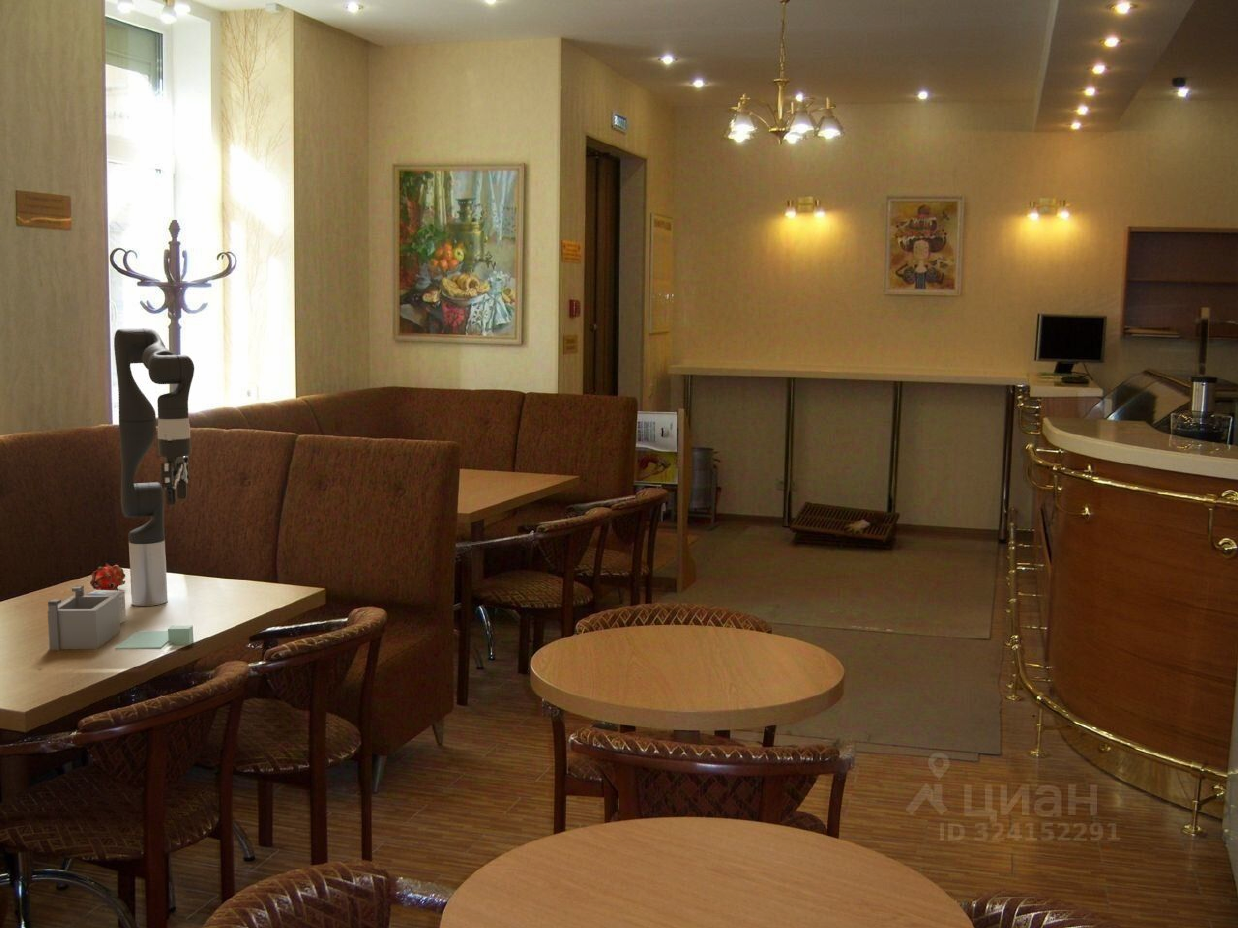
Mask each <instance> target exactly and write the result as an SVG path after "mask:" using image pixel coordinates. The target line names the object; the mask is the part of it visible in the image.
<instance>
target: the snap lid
mask: <svg viewBox="0 0 1238 928" xmlns="http://www.w3.org/2000/svg"><path fill="white" fill-rule="evenodd" d="M194 642H195V641H194V625H171V626H169V628H167V630H152V631H151V630H147V631H145V630H144V631H143V630H142V631H135V632H134V633H133V634H131V635H130V636H129V637H127V638H126V639H125V640H123V641H122V642H121V643H120V644H118V645H117V646H116V647H115V648H114V650H139V649H140V650H153V649H156V650H160V649H162V648H164V647H165V646H166V645H167V644H168V643H170V644H169V646H191V645H192V644H193V643H194Z"/></svg>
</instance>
